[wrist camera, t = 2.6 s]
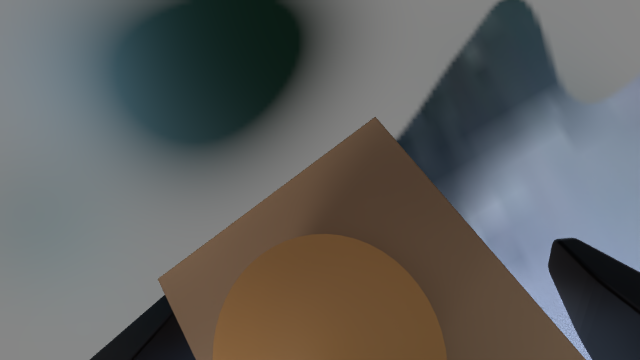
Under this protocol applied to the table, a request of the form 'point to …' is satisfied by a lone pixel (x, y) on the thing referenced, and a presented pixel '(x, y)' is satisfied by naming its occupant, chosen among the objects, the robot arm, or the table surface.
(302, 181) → the point post
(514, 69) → the table surface
